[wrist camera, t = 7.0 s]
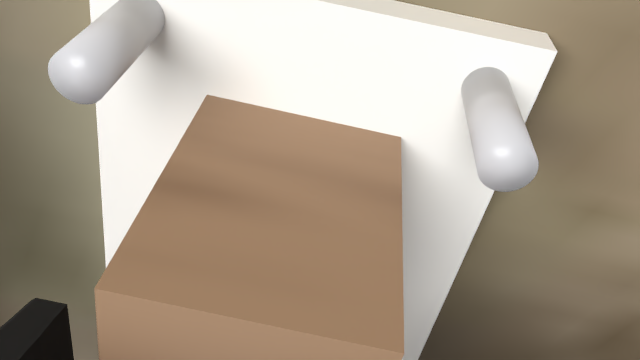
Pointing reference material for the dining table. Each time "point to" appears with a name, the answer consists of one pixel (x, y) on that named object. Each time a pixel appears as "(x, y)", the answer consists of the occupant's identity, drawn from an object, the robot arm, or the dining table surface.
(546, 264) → the dining table surface
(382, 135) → the walnut block
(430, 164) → the standoff plate
